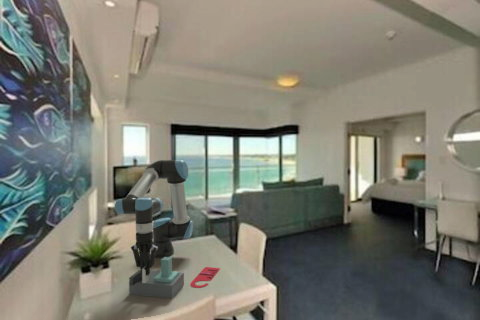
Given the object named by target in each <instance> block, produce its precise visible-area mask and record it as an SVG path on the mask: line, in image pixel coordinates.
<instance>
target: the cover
mask: <svg viewBox="0 0 480 320" xmlns="http://www.w3.org/2000/svg"><path fill="white" fill-rule="evenodd" d="M160 271H161V272H160V273H159V274H158V275H157V276H156V277H154V281H157V282H169V283H172V281H173V280H174V279H175V278H176V277H177V276H178V275H179V272H180V271H175V270H173V257H172V256H171V257H169V256H166V257H162V258H161V259H160Z"/></svg>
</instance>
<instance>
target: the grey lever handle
mask: <svg viewBox="0 0 480 320" xmlns="http://www.w3.org/2000/svg"><path fill="white" fill-rule="evenodd" d="M128 279H129V280H128V286H129V285H131V286H133V285H134V284H136V283H137V282H138V281H139V280H141V279H142V275H141V269H140V268H139V269H138V271H136V272H135V273H133V274H132V275H130V277H129V278H128Z"/></svg>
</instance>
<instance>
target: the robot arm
mask: <svg viewBox="0 0 480 320" xmlns="http://www.w3.org/2000/svg"><path fill="white" fill-rule="evenodd" d="M187 164H188V163H186V161H185V160H182V159H181V160H180V159H162V160H160V159H159V160H157V161H155V162H152V163H151V164H150V165H148V166H147V167H146V168H144V170H143V171H142V175H141V177H140V178H139V180H138V181H137V182H136V184H135V185H134V186H133V187H132V188H131V190H130V191H129V193H128V194H127V195H126V197H124V198H119V199H117V200H116V201H115V203H114V210H115V212H116V214H118V215H119V214H120V215H134V216H135V240H136V242H135V244H134V245H132V246H130V249H131V250H132V253H133V257H134V262H135V265H136V268H139V269H141V275H142V283H146V282H147V281H148V275H149V274H150V270H151V268H152V267H154V264H155V261H156V260H155V259H156V258H164V257H169V256H171V255H173V254H174V253H175V248H174V245H173V243H172V242H173V241H172V239H190V238H191V237H192V234H193V230H194V221H193V220H191V218H190V216H189V215H188V208H187V202H186V201H187V200H186V199H187V198H186V190H185V182H186V181H187V179H188V177H189V167H188V165H187ZM161 179H163V180H165V179H166V183H167V184H169V186H170V193H171V194H170V195H171V202H172V204H171V205H172V210H173V218H170V217H163V218H159V219H156V220H153V219H154V218H153V215H156V214H158V213H159V212H161V210H162V209H163V207H164V205H163V204H164V203H163V201H162V200H161V199H160V198H158V197H148V196H147V197H145V196H146V195H147V193H148V191H149V190H150V189H151V188H152V186H153V185H154V183H156V182H158V180H161Z"/></svg>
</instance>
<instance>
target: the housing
mask: <svg viewBox="0 0 480 320" xmlns="http://www.w3.org/2000/svg"><path fill="white" fill-rule="evenodd" d="M160 272H161V270H154V269H153V270H152V269H150V274H149V275H148V281H147V282H146V283H142V279H141V280H139V281H138V282H137V283H136V284H134V285H133V286H131V285H129V284H128V290H129V291H128V294H129V295H135V296H144V295H145V296H146V297H147V296H148V297H154V296H155V298H156V297H157V298H167V299H168V298H169V299H174V297H175V296H176V295H177V294H178V292H179V291H180V289H182V287H183V286H184V285H185V272H180V271H178V272H179V275H178V276H177V277H176V278H175V279H174V280H173V281H172V283H169V282H157V281H154V277H156V276H157V275H158V274H159V273H160ZM145 296H144V297H145Z"/></svg>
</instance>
